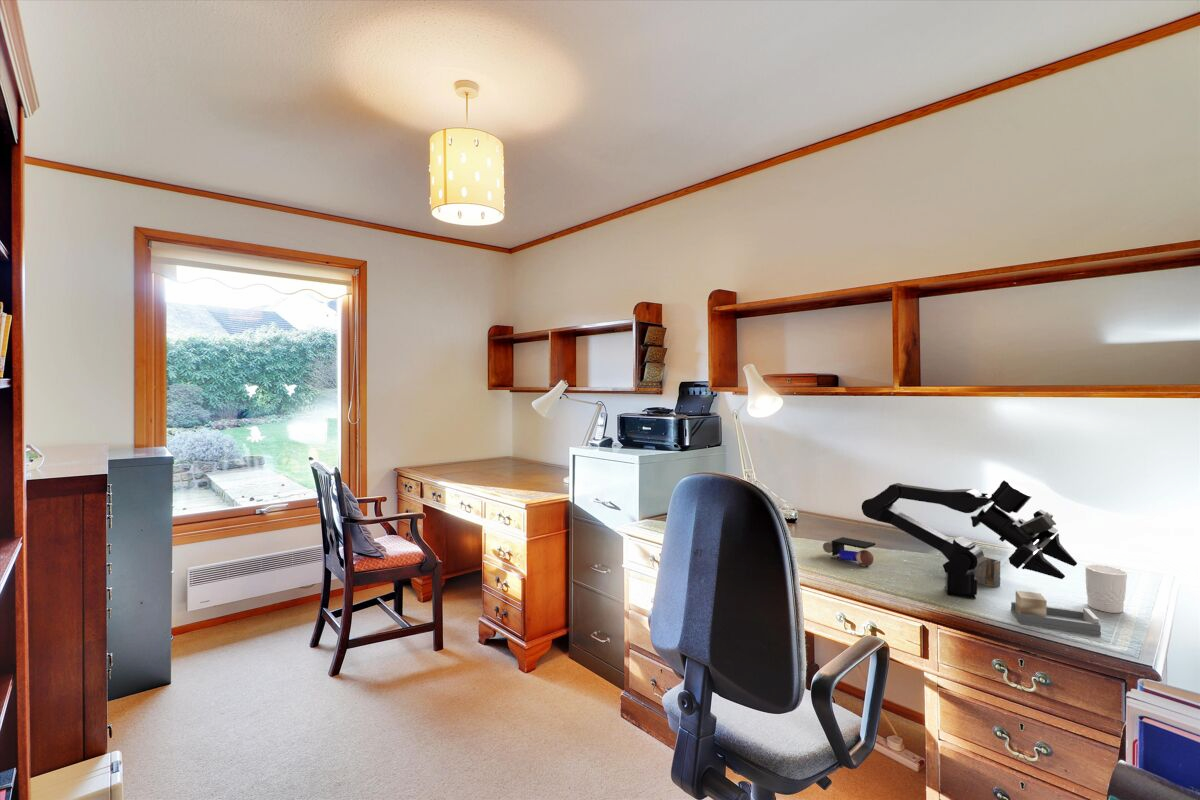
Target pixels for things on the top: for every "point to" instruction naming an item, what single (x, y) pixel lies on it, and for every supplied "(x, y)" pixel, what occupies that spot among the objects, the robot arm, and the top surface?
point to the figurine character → (838, 549)
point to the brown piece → (988, 572)
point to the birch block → (1030, 603)
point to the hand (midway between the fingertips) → (1070, 571)
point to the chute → (1062, 620)
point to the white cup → (1105, 588)
